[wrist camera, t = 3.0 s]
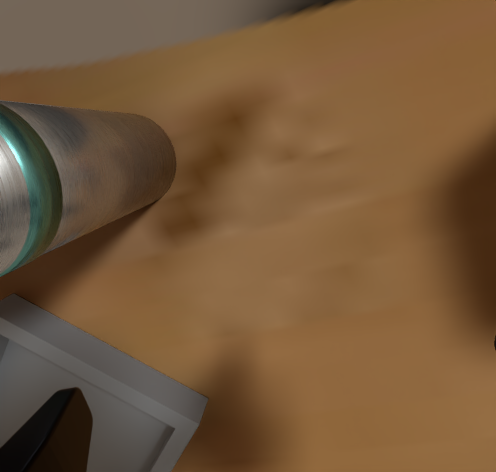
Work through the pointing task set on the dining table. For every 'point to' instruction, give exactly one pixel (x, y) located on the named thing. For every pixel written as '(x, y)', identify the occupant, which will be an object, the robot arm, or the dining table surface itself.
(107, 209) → the canister
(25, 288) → the dining table surface
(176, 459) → the tray
